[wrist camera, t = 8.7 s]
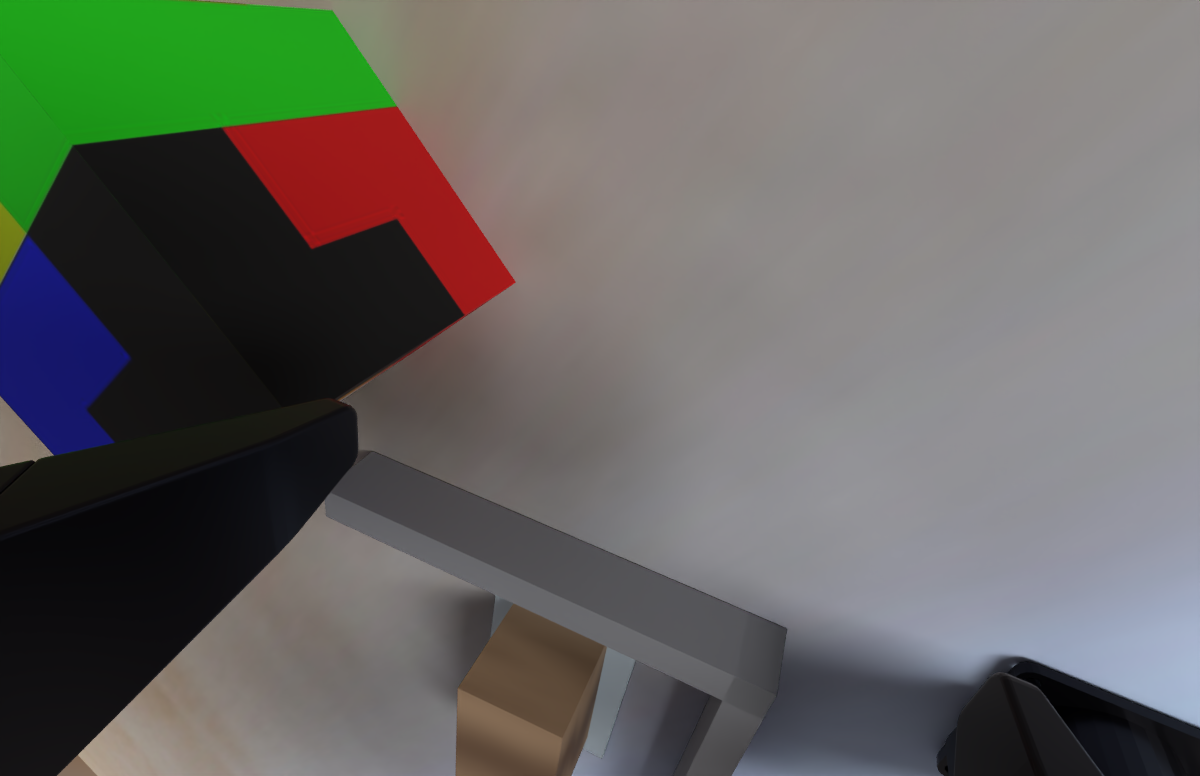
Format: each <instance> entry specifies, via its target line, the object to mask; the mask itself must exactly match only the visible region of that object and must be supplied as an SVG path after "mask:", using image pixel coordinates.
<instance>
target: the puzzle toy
mask: <svg viewBox="0 0 1200 776" xmlns="http://www.w3.org/2000/svg"><path fill="white" fill-rule="evenodd" d="M514 283H515V280H514V279H513V278H512V276H511V275H510V273H509V272H508V270H507V269H506V267H505V266H504V264H503V263H502V261H501V260H500V258H499V257H498V255H497V254H496V252H495V251H494V249H493V248H492V246H491V245H490V243H489V242H488V240H487V239H486V237H485V236H484V235H483V233H482V232H481V230H480V229H479V227H478V226H477V224H476V223H475V221H474V220H473V218H472V217H471V215H470V214H469V212H468V211H467V209H466V208H465V206H464V205H463V203H462V202H461V200H460V199H459V197H458V196H457V195H456V193H455V192H454V190H453V189H452V187H451V186H450V184H449V183H448V181H447V180H446V178H445V177H444V175H443V174H442V172H441V171H440V169H439V168H438V166H437V165H436V163H435V162H434V160H433V159H432V157H431V156H430V154H429V153H428V152H427V150H426V149H425V147H424V146H423V144H422V143H421V141H420V140H419V138H418V137H417V135H416V134H415V132H414V131H413V129H412V128H411V126H410V125H409V123H408V122H407V120H406V119H405V117H404V116H403V114H402V113H401V111H400V110H399V109H398V107H397V106H396V104H395V103H394V101H393V100H392V98H391V97H390V95H389V94H388V92H387V91H386V89H385V88H384V86H383V85H382V83H381V82H380V80H379V79H378V77H377V76H376V74H375V73H374V71H373V70H372V69H371V67H370V66H369V64H368V63H367V61H366V60H365V58H364V57H363V55H362V54H361V52H360V51H359V49H358V48H357V46H356V45H355V43H354V42H353V40H352V39H351V37H350V36H349V34H348V33H347V31H346V30H345V28H344V27H343V26H342V24H341V23H340V21H339V20H338V18H337V17H336V15H335V14H334V12H333V11H332V10H323V9H309V8H295V7H281V6H267V5H253V4H239V3H225V2H211V1H197V0H0V396H1V397H2V398H3V400H4V401H5V402H6V403H7V404H8V405H9V406H10V407H11V408H12V409H13V411H14V412H15V413H16V414H17V415H18V416H19V417H20V418H21V419H22V420H23V422H24V423H25V424H26V425H27V426H28V427H29V428H30V429H31V430H32V431H33V433H34V434H35V435H36V436H37V437H38V438H39V439H40V440H41V441H42V443H43V444H44V445H45V446H46V447H47V448H48V449H49V450H50V451H51V452H52V454H53V455H59V454H64V453H69V452H73V451H78V450H83V449H88V448H92V447H97V446H102V445H107V444H111V443H116V442H121V441H126V440H130V439H135V438H140V437H145V436H149V435H154V434H159V433H164V432H168V431H173V430H178V429H183V428H187V427H192V426H197V425H202V424H206V423H211V422H216V421H221V420H225V419H230V418H235V417H240V416H244V415H249V414H254V413H259V412H263V411H268V410H273V409H278V408H282V407H287V406H292V405H297V404H301V403H306V402H311V401H316V400H321V399H326V398H331V399H335V400H338V401H342V400H343V399H345V398H346V397H348V396H349V395H351V394H352V393H354V392H355V391H357V390H358V389H360V388H361V387H363V386H364V385H366V384H367V383H369V382H370V381H372V380H373V379H375V378H376V377H377V376H379V375H380V374H382V373H383V372H385V371H386V370H388V369H389V368H391V367H392V366H394V365H395V364H397V363H398V362H399V361H401V360H402V359H404V358H405V357H407V356H408V355H410V354H411V353H413V352H414V351H416V350H417V349H419V348H420V347H422V346H423V345H424V344H426V343H427V342H429V341H430V340H432V339H433V338H435V337H436V336H438V335H439V334H441V333H442V332H444V331H445V330H446V329H448V328H449V327H451V326H452V325H454V324H455V323H457V322H458V321H460V320H461V319H463V318H464V317H466V316H467V315H468V314H470V313H471V312H473V311H474V310H476V309H477V308H479V307H480V306H482V305H483V304H485V303H486V302H488V301H489V300H491V299H492V298H493V297H495V296H496V295H498V294H499V293H501V292H502V291H504V290H505V289H507V288H508V287H510V286H511V285H513V284H514Z"/></svg>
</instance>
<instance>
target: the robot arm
mask: <svg viewBox="0 0 1200 776" xmlns="http://www.w3.org/2000/svg"><path fill="white" fill-rule="evenodd" d="M357 454H358V427H357V413H356V411H355V409H354V408H353V407H352V406H350V405H348V404H345V403H343V402H340V401H338V400H335V399H331V398H326V399H321V400H316V401H311V402H306V403H301V404H297V405H292V406H287V407H282V408H278V409H273V410H268V411H263V412H259V413H254V414H249V415H244V416H240V417H235V418H230V419H225V420H221V421H216V422H211V423H206V424H202V425H197V426H192V427H187V428H183V429H178V430H173V431H168V432H164V433H159V434H154V435H149V436H145V437H140V438H135V439H130V440H126V441H121V442H116V443H111V444H107V445H102V446H97V447H92V448H88V449H83V450H78V451H73V452H69V453H64V454H59V455H54V456H50V457H45V458H40V459H38V460H37V461H36V462H35V461H32V460H30V461H25V462H20V463H16V464H11V465H6V466H2V467H0V776H57V775H58V774H59V773H60V772H61V771H62V770H63V769H64V768H65V767H66V766H67V765H68V764H69V763H70V762H71V761H72V760H73V759H74V758H75V757H76V756H77V755H78V754H79V753H80V752H81V751H82V750H83V749H84V748H85V747H86V746H87V745H88V744H89V743H90V742H91V741H92V740H93V739H94V738H95V737H96V736H97V735H98V734H99V733H100V732H101V731H102V730H103V729H104V728H105V727H106V726H107V725H108V724H109V723H110V722H111V721H112V720H113V719H114V718H115V717H116V716H117V715H118V714H119V713H120V712H121V711H122V710H123V709H124V708H125V707H126V706H127V705H128V704H129V703H130V702H131V701H132V700H133V699H134V698H135V697H136V696H137V695H138V694H139V693H140V692H141V691H142V690H143V689H144V688H145V687H146V686H147V685H148V684H149V683H150V682H151V681H152V680H153V679H154V678H155V677H156V676H157V675H158V674H159V673H160V672H161V671H162V670H163V669H164V668H165V667H166V666H167V665H168V664H169V663H170V662H171V661H172V660H173V659H174V658H175V657H176V656H177V655H178V654H179V653H180V652H181V651H182V650H183V649H184V648H185V647H186V646H187V645H188V644H189V643H190V642H191V641H192V640H193V639H194V638H195V637H196V636H197V635H198V634H199V633H200V632H201V631H202V630H203V629H204V628H205V627H206V626H207V625H208V624H209V623H210V622H211V621H212V620H213V619H214V618H215V617H216V616H217V615H218V614H219V613H220V612H221V611H222V610H223V609H224V608H225V607H226V606H227V605H228V604H229V603H230V602H231V601H232V600H233V599H234V598H235V597H236V596H237V595H238V594H239V593H240V592H241V591H242V590H243V589H244V588H245V587H246V586H247V585H248V584H249V583H250V582H251V581H252V580H253V579H254V578H255V577H256V576H257V575H258V574H259V573H260V572H261V571H262V570H263V569H264V568H265V567H266V566H267V565H268V564H269V563H270V562H271V561H272V560H273V559H274V558H275V557H276V556H277V555H278V554H279V552H280V551H281V550H282V549H283V548H284V547H285V546H286V545H287V544H288V543H289V542H290V541H291V540H292V538H293V537H294V536H295V535H296V534H297V533H298V532H299V530H300V529H301V528H302V527H303V526H304V524H305V523H306V522H307V521H308V519H309V518H310V517H311V516H312V515H313V513H314V512H315V511H316V510H317V508H318V507H319V506H320V505H321V504H322V502H323V501H324V500H325V499H326V497H327V496H328V495H329V494H330V493H331V491H332V490H333V489H334V488H335V486H336V485H337V484H338V483H339V481H340V480H341V479H342V478H343V477H344V475H345V474H346V473H347V472H348V470H349V469H350V468H351V467H352V465H353V464H354V462H355V460H356V458H357ZM1028 678H1035V679H1028ZM945 744H946V745H945V746H944V747H943V748H942V749H941V751H940V752H939V753H938V754H937V757H936V758H937V768H938V771H939V772H940V773H941V774H943V775H944V776H1200V730H1199V729H1197V728H1194V727H1192V726H1189V725H1187V724H1184V723H1182V722H1179V721H1177V720H1174V719H1172V718H1170V717H1167V716H1165V715H1162V714H1160V713H1157V712H1155V711H1152V710H1150V709H1147V708H1145V707H1142V706H1140V705H1137V704H1135V703H1132V702H1130V701H1127V700H1125V699H1123V698H1120V697H1118V696H1115V695H1113V694H1110V693H1108V692H1105V691H1103V690H1100V689H1098V688H1095V687H1093V686H1090V685H1088V684H1085V683H1083V682H1080V681H1078V680H1075V679H1073V678H1071V677H1068V676H1066V675H1063V674H1061V673H1058V672H1056V671H1053V670H1051V669H1048V668H1046V667H1043V666H1041V665H1038V664H1035V663H1031V662H1023V663H1019V664H1017V665H1016V666H1014V667H1013V668H1012V669H1011V670H1010V672H1009V673H1008V674H1007V673H1003V672H997V673H995V674H993V675H992V676H991V677H989V678H988V680H987V681H986V682H985V683H984V684H983V686H982V687H981V688H980V689H979V690H978V692H977V693H976V694H975V695H974V696H973V697H972V699H971V700H970V701H969V702H968V703H967V705H966V706H965V707H964V708H963V710H962V712H961V714H960V716H959V719H958V724H957V727H956V728H955V730H954V731H953V732H952V733H951V734H950V735H949V737H948V738H947V739H946V741H945Z"/></svg>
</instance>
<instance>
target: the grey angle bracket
mask: <svg viewBox="0 0 1200 776" xmlns="http://www.w3.org/2000/svg"><path fill="white" fill-rule="evenodd" d="M325 508H326V516H327V517H329V518H331V519H333V520H335V521H338V522H340V523H342V524H344V525H346V526H348V527H350V528H353V529H355V530H357V531H359V532H361V533H363V534H365V535H368V536H370V537H372V538H374V539H376V540H378V541H381V542H383V543H385V544H387V545H389V546H391V547H393V548H396V549H398V550H400V551H402V552H404V553H406V554H408V555H411V556H413V557H415V558H417V559H419V560H421V561H424V562H426V563H428V564H430V565H432V566H434V567H436V568H439V569H441V570H443V571H445V572H447V573H449V574H451V575H454V576H456V577H458V578H460V579H462V580H464V581H467V582H469V583H471V584H473V585H475V586H477V587H479V588H482V589H484V590H486V591H488V592H490V593H492V594H494V595H497V596H499V597H501V598H503V599H505V600H507V601H510V602H512V603H514V604H516V605H518V606H520V607H522V608H525V609H527V610H529V611H531V612H533V613H535V614H537V615H540V616H542V617H544V618H546V619H548V620H550V621H553V622H555V623H557V624H559V625H561V626H563V627H565V628H568V629H570V630H572V631H574V632H576V633H578V634H580V635H583V636H585V637H587V638H589V639H591V640H593V641H596V642H598V643H600V644H602V645H604V646H606V647H608V648H611V649H613V650H615V651H617V652H619V653H621V654H623V655H626V656H628V657H630V658H632V659H634V660H636V661H638V662H641V663H643V664H645V665H647V666H649V667H651V668H654V669H656V670H658V671H660V672H662V673H664V674H666V675H669V676H671V677H673V678H675V679H677V680H679V681H681V682H684V683H686V684H688V685H690V686H692V687H694V688H697V689H699V690H701V691H703V692H705V693H707V694H709V695H710V698H709V700H708V702H707V704H706V706H705V708H704V710H703V713H702V715H701V717H700V719H699V721H698V723H697V725H696V728H695V730H694V732H693V734H692V736H691V738H690V740H689V743H688V745H687V747H686V749H685V751H684V753H683V755H682V758H681V760H680V762H679V764H678V766H677V768H676V770H675V773H674V775H673V776H732V774H733V772H734V770H735V769H736V767H737V765H738V763H739V761H740V760H741V758H742V756H743V754H744V753H745V751H746V749H747V747H748V746H749V744H750V742H751V740H752V738H753V737H754V735H755V733H756V731H757V730H758V728H759V726H760V724H761V722H762V721H763V719H764V717H765V715H766V714H767V712H768V710H769V708H770V706H771V705H772V703H773V701H774V699H775V698H776V696H777V691H778V684H779V678H780V672H781V665H782V659H783V652H784V646H785V639H786V633H787V629H786V628H784V627H782V626H779V625H777V624H775V623H772V622H770V621H768V620H765V619H763V618H760V617H758V616H756V615H753V614H751V613H749V612H746V611H744V610H742V609H739V608H737V607H735V606H732V605H730V604H728V603H725V602H723V601H721V600H718V599H716V598H714V597H711V596H709V595H707V594H704V593H702V592H700V591H697V590H695V589H693V588H690V587H688V586H686V585H683V584H681V583H679V582H676V581H674V580H672V579H669V578H667V577H665V576H662V575H660V574H658V573H655V572H653V571H651V570H648V569H646V568H644V567H641V566H639V565H637V564H634V563H632V562H630V561H627V560H625V559H623V558H620V557H618V556H616V555H613V554H611V553H609V552H606V551H604V550H602V549H599V548H597V547H595V546H592V545H590V544H588V543H585V542H583V541H581V540H578V539H576V538H574V537H571V536H569V535H567V534H564V533H562V532H560V531H557V530H555V529H553V528H550V527H548V526H546V525H543V524H541V523H539V522H536V521H534V520H532V519H529V518H527V517H525V516H522V515H520V514H518V513H515V512H513V511H511V510H508V509H506V508H504V507H501V506H499V505H497V504H494V503H492V502H490V501H487V500H485V499H483V498H480V497H478V496H475V495H473V494H471V493H468V492H466V491H464V490H461V489H459V488H457V487H454V486H452V485H450V484H447V483H445V482H443V481H440V480H438V479H436V478H433V477H431V476H429V475H426V474H424V473H422V472H419V471H417V470H415V469H412V468H410V467H408V466H405V465H403V464H401V463H398V462H396V461H394V460H391V459H389V458H387V457H384V456H382V455H380V454H377V453H375V452H373V451H372V452H371V453H370V454H368V455H367V456H366V457H365V458H363V459H362V460H361V461H360V462H358V463H357V464H356V465H355V466H353V467H352V468H351V469H350V470H348V472H347V473H346V474H345V475H344V477H343V478H342V479H341V480H340V481H339V483H338V484H337V485H336V486H335V488H334V489H333V490H332V491H331V493H330V494H329V495H328V496H327V497H326V499H325Z"/></svg>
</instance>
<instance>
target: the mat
mask: <svg viewBox="0 0 1200 776" xmlns="http://www.w3.org/2000/svg"><path fill="white" fill-rule="evenodd" d="M512 605H513V603H512V602H510V601H507V600H505V599H503V598H501V597H499V596H497V595H496V596H495V604H494V611H493V619H492V626H491V634H490V638H491V637H492V635H493V634H494V632H495V631H496V629H497V628H498V626H499V625H500V623H501V622H502V620H503V619H504V617H505V615H506V614H507V612H508V611H509V609H510V608H511V606H512ZM635 661H636V660H634V659H632V658H630V657H628V656H626V655H623V654H621V653H619V652H617V651H615V650H613V649H611V648H608V647H607V649H606V654H605V659H604V663H603V668H602V672H601V677H600V682H599V686H598V691H597V695H596V700H595V705H594V709H593V714H592V718H591V723H590V728H589V732H588V737H587V739H586V742H585V744H584V747H583V749H584V750H586V751H588V752H590V753H591V754H593V755H595V756H597V757H599V758H601V759H602V758H603V755H604V753H605V750H606V747H607V744H608V741H609V738H610V735H611V732H612V729H613V726H614V723H615V720H616V717H617V714H618V711H619V708H620V705H621V702H622V699H623V697H624V694H625V691H626V688H627V685H628V682H629V679H630V676H631V673H632V670H633V667H634V664H635Z"/></svg>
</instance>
